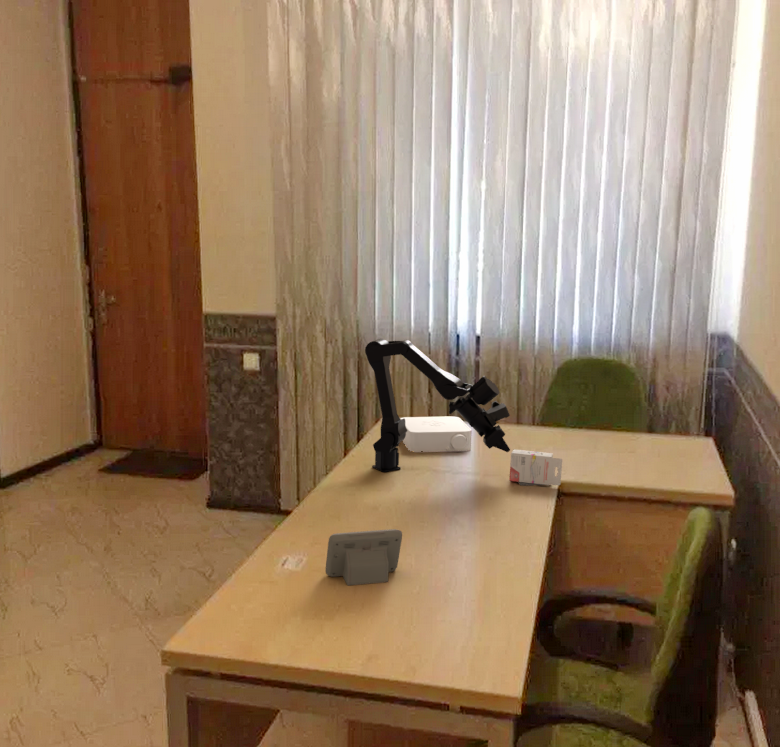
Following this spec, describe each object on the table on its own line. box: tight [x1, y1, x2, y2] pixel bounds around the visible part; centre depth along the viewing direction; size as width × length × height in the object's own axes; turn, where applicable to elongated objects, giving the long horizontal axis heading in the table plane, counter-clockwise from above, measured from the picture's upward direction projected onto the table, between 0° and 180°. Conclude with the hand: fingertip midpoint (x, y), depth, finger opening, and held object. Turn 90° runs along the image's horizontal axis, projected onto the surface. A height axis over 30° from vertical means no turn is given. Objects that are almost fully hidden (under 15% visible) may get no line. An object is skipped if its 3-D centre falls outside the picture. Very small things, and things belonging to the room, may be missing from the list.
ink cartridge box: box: [508, 449, 563, 486], centre depth 256 cm, size 9×5×15 cm
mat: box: [517, 482, 542, 486], centre depth 260 cm, size 8×12×1 cm, turn 3°
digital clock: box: [325, 528, 403, 586], centre depth 188 cm, size 16×9×11 cm, turn 94°
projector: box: [399, 415, 473, 453], centre depth 297 cm, size 21×22×7 cm
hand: (508, 450), depth 258 cm, fingers closed
